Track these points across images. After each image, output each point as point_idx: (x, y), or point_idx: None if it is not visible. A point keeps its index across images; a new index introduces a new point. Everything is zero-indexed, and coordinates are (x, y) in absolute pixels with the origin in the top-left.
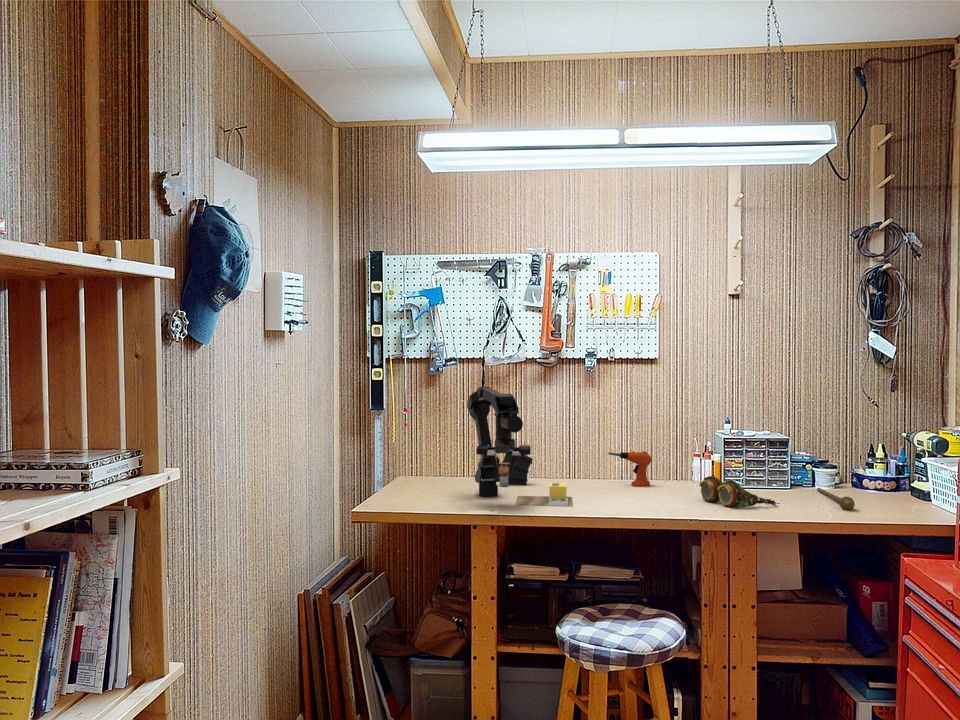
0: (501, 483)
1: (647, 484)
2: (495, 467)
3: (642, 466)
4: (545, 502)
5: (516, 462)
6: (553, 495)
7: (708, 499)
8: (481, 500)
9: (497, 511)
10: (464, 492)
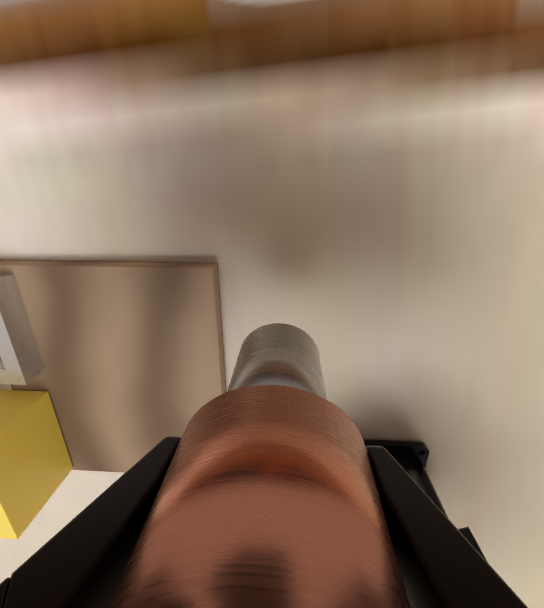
0: (302, 348)
1: None
2: (452, 548)
3: None
4: (56, 350)
5: None
6: (5, 408)
7: None
8: (409, 438)
9: (320, 184)
10: None
